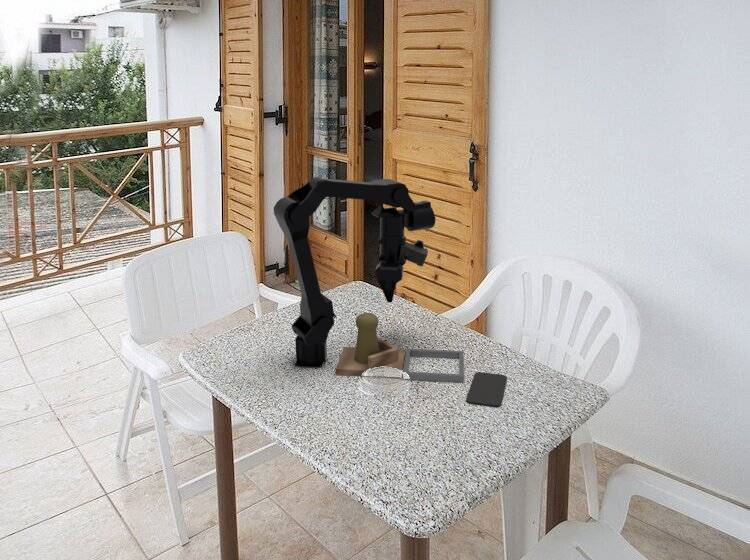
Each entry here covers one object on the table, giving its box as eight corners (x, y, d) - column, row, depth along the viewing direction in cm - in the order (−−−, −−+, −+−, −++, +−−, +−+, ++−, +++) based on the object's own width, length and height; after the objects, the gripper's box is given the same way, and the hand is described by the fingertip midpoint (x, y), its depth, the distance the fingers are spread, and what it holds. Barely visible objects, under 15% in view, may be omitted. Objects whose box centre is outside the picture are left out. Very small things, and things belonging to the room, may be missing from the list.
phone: (508, 375, 162) (500, 405, 148) (507, 378, 162) (500, 409, 149) (475, 371, 164) (465, 401, 150) (474, 374, 164) (464, 404, 151)
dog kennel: (335, 374, 163) (335, 356, 161) (343, 352, 175) (343, 335, 173) (401, 378, 161) (402, 359, 160) (405, 355, 173) (405, 338, 172)
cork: (377, 365, 164) (377, 320, 161) (351, 363, 165) (351, 318, 162) (382, 354, 170) (382, 311, 166) (357, 352, 171) (357, 309, 167)
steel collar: (402, 379, 161) (402, 373, 160) (406, 354, 174) (406, 348, 173) (463, 382, 159) (464, 376, 159) (463, 356, 172) (463, 351, 172)
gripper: (424, 245, 160) (423, 310, 165) (427, 224, 178) (426, 284, 183) (375, 243, 161) (374, 308, 166) (382, 223, 179) (382, 283, 184)
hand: (391, 295), depth 175 cm, fingers open, 9 cm apart
